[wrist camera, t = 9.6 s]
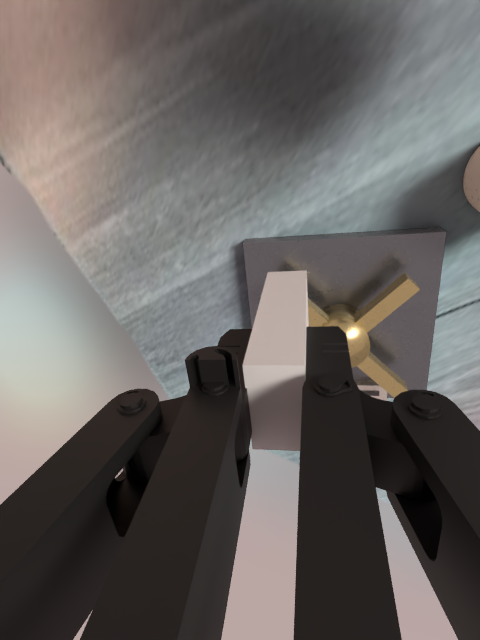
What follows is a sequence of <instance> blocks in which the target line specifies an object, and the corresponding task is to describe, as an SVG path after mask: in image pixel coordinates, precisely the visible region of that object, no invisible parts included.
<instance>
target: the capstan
mask: <svg viewBox="0 0 480 640" xmlns="http://www.w3.org/2000/svg"><path fill="white" fill-rule="evenodd" d="M419 290H420V289H419V287H418V285H417V284H416V283H415V282H414V281H413V280H412V279H411V278H410V277H409V276H408V275H407V274H406V273H405V272H404V273H403V274H402V275H401V276H400V277H399V278H397V279H396V280H395V281H394V282H393V283H392V284H390V285H389V286H388V287H387V288H386V289H384V290H383V291H382V292H381V293H380V294H379V295H377V296H376V297H375V298H374V299H373V300H372V301H370V302H369V303H368V304H367V305H366V306H365V307H363V308H362V309H361V310H360V311H358V310H357V309H356V308H354V307H352V306H349V305H345V304H336V305H332V306H329V307H327V308H325V309H324V310H321V309H320V308H319V307H318V306H317V305H316V304H314V303H313V302H312V301H311V300H310V299H309V298H308V323H309V326H310V327H320V326H339V327H340V328H341V329H342V330H343V331H344V332H345V333H346V336H347V342H348V348H349V354H350V360H351V366H352V368H353V367H355V366H357V367H358V368H359V369H361V370H362V371H363V372H364V373H365V374H367V375H368V376H369V377H370V378H371V379H372V380H374V381H375V382H376V383H377V384H378V385H379V386H381V387H382V388H383V389H384V390H385V391H387V392H388V393H389V394H390V395H391V396H392V397H394V398H395V397H396V396H397V395H399V394H400V393H401V392H405V391H408V389H407V386H406V383H405V382H404V381H403V380H402V379H401V378H400V377H399V376H398V375H396V374H395V373H394V372H393V371H392V370H391V369H389V368H388V367H387V366H386V365H385V364H384V363H383V362H381V361H380V360H379V359H378V358H377V357H376V356H374V355H373V354H372V353H371V352H370V340H369V337H368V333H367V332H369V331H370V330H371V329H372V328H374V327H375V326H376V325H377V324H378V323H380V322H381V321H382V320H383V319H385V318H386V317H387V316H388V315H390V314H391V313H392V312H393V311H394V310H396V309H397V308H398V307H399V306H401V305H402V304H403V303H404V302H406V301H407V300H408V299H409V298H411V297H412V296H413V295H414V294H415V293H417V292H418V291H419Z"/></svg>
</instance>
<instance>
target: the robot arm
mask: <svg viewBox="0 0 480 640" xmlns="http://www.w3.org/2000/svg"><path fill="white" fill-rule="evenodd" d="M185 363H186V368H187V373H188V379H189V384H190V389H189V391H188V393H187V395H185V396H183V397H179V398H175V399H170V400H165V401H160V402H159V398H158V396H157V394H156V393H155V392H154V391H151V390H148V389H134V390H129V391H126V392H124V393H122V394H119V395H118V396H116V397H115V398H114V399H112V400H111V401H110V402H109V403H108V404H107V405H105V406H104V408H102V409H101V410H100V411H99V412H98V413H97V414H96V415H95V416H94V417H93V418H92V419H91V420H90V421H89V422H88V423H87V424H85V425H84V426H83V427H82V428H81V429H80V430H79V431H78V432H77V433H76V434H75V435H74V436H73V437H72V438H71V439H70V440H69V441H67V443H65V444H64V445H63V446H62V447H61V448H60V449H59V450H58V451H57V452H56V453H55V454H54V455H53V456H52V457H51V458H49V459H48V460H47V461H46V462H45V463H44V464H43V465H42V466H41V467H40V468H39V469H38V470H37V471H36V472H35V473H34V474H33V475H31V476H30V477H29V478H28V479H27V480H26V481H25V482H24V483H23V484H22V485H21V486H20V487H19V488H18V489H17V490H16V491H15V492H14V493H12V494H11V495H10V496H9V497H8V498H7V499H6V500H5V501H4V502H3V503H2V504H1V505H0V640H73V639H74V637H75V636H76V634H77V633H78V631H79V630H80V628H81V627H82V625H83V624H84V622H85V620H86V619H87V617H88V616H89V614H90V613H91V611H92V610H93V611H92V613H91V616H90V618H89V620H88V622H87V625H86V627H85V629H84V631H83V634H82V636H81V638H80V640H221V636H222V630H223V624H224V619H225V613H226V607H227V601H228V595H229V588H230V583H231V577H232V571H233V565H234V559H235V553H236V547H237V541H238V535H239V529H240V523H241V517H242V511H243V506H244V499H245V494H246V487H247V482H248V476H249V469H250V455H249V445H250V440H252V448H253V449H265V450H292V451H300V472H299V501H298V531H297V560H296V589H295V591H296V592H295V618H294V640H401V633H400V628H399V623H398V616H397V610H396V604H395V599H394V593H393V587H392V581H391V575H390V569H389V564H388V557H387V552H386V546H385V540H384V534H383V529H382V523H381V516H380V511H379V505H378V499H377V493H376V487H377V488H380V489H383V490H386V492H387V496H388V499H389V501H390V503H391V505H392V507H393V509H394V510H395V513H396V515H397V517H398V519H399V521H400V522H401V525H402V527H403V529H404V531H405V533H406V535H407V537H408V539H409V541H410V543H411V545H412V547H413V549H414V551H415V553H416V555H417V557H418V559H419V561H420V563H421V565H422V567H423V569H424V571H425V573H426V575H427V577H428V579H429V581H430V583H431V585H432V587H433V589H434V591H435V593H436V595H437V597H438V599H439V601H440V604H441V605H442V608H443V610H444V612H445V613H446V616H447V618H448V620H449V622H450V624H451V626H452V628H453V630H454V632H455V634H456V636H457V638H458V640H480V431H479V430H478V429H477V428H476V426H475V425H474V424H473V423H472V422H471V421H470V420H469V419H468V418H467V416H466V415H465V414H464V413H463V412H462V411H461V410H460V409H459V408H458V407H457V405H456V404H455V403H453V402H452V401H451V400H450V399H448V398H447V397H445V396H443V395H441V394H438V393H436V392H432V391H427V390H408V391H405V392H401V393H400V394H399V395H397V396H396V397H395V398H394V401H393V402H389V401H385V400H381V399H377V398H374V397H371V396H369V395H367V394H365V393H364V392H362V391H361V390H360V389H359V388H358V386H357V384H356V382H355V381H354V379H353V373H352V366H351V360H350V354H349V348H348V342H347V336H346V333H345V332H344V331H343V330H342V329H341V328H340V327H339V326H320V327H309V323H308V293H307V270H304V271H282V272H268V273H267V277H266V280H265V284H264V288H263V292H262V295H261V299H260V303H259V306H258V310H257V314H256V317H255V321H254V325H253V328H252V329H230V330H229V331H228V332H226V333H225V334H224V335H223V336H222V337H221V338H220V341H219V343H218V345H217V346H213V347H205V348H202V349H199V350H196V351H195V352H193V353H191V354H190V355H189V356H188V357H187V358H186V359H185ZM122 468H123V472H122V473H121V474H120V475H119V476H118V477H117V478H115V476H116V475H117V474H118V473H119V472H120V470H121V469H122Z"/></svg>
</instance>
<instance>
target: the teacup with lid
mask: <svg viewBox="0 0 480 640" xmlns="http://www.w3.org/2000/svg"><path fill="white" fill-rule="evenodd" d="M463 187H464V192H465V195H466V198H467V200H468V201H469V203H470V204H471V205H472V206H473V207H474V208H475V209H476V210H478V211H479V212H480V146H479V147H478V148H477V150H476V151H475V152H474V154H473V155H472V156H471V158H470V160H469V162H468V164H467V166H466V169H465V173H464V178H463Z"/></svg>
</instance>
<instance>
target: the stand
mask: <svg viewBox="0 0 480 640" xmlns="http://www.w3.org/2000/svg"><path fill="white" fill-rule="evenodd" d="M445 239H446V231H445V230H444V229H443V228H441V227H435V228H418V229H402V230H386V231H369V232H353V233H336V234H320V235H304V236H287V237H271V238H254V239H245V241H244V243H243V249H244V259H245V269H246V279H247V288H248V298H249V308H250V318H251V327H252V328H253V325H254V321H255V317H256V314H257V310H258V306H259V303H260V299H261V295H262V292H263V288H264V284H265V280H266V277H267V273H268V272H282V271H304V270H307V293H308V298H309V299H310V300H311V301H312V302H313V303H314V304H316V305H317V306H318V307H319V308H320V309H321V310H324V309H325V308H327V307H329V306H332V305H336V304H345V305H349V306H352V307H354V308H356V309H357V310H358V311H360V310H361V309H362V308H363V307H365V306H366V305H367V304H368V303H369V302H370V301H372V300H373V299H374V298H375V297H376V296H377V295H379V294H380V293H381V292H382V291H383V290H384V289H386V288H387V287H388V286H389V285H390V284H392V283H393V282H394V281H395V280H396V279H397V278H399V277H400V276H401V275H402V274H403V273H404V272H405V273H406V274H407V275H408V276H409V277H410V278H411V279H412V280H413V281H414V282H415V283H416V284H417V285H418V287H419V289H420V290H419V291H418V292H417V293H415V294H414V295H413V296H412V297H411V298H409V299H408V300H407V301H406V302H404V303H403V304H402V305H401V306H399V307H398V308H397V309H396V310H394V311H393V312H392V313H391V314H390V315H388V316H387V317H386V318H385V319H383V320H382V321H381V322H380V323H378V324H377V325H376V326H375V327H374V328H372V329H371V330H370V331H369V332H367V333H368V337H369V340H370V352H371V353H372V354H373V355H374V356H376V357H377V358H378V359H379V360H380V361H381V362H383V363H384V364H385V365H386V366H387V367H388V368H389V369H391V370H392V371H393V372H394V373H395V374H396V375H398V376H399V377H400V378H401V379H402V380H403V381H404V382H405V383H406V386H407V389H408V390H427V382H428V374H429V366H430V358H431V350H432V342H433V334H434V326H435V318H436V311H437V303H438V295H439V287H440V279H441V271H442V263H443V255H444V247H445ZM309 327H310V326H309ZM352 373H353V379H354V381H355V382H356V384H357V386H358V388H359V389H360V390H361V391H362V392H364V393H365V394H367V395H369V396H371V397H374V398H377V399H381V400H385V401H387V398H394V397H392V396H391V395H390V394H389V393H388V392H387V391H385V390H384V389H383V388H382V387H381V386H379V385H378V384H377V383H376V382H375V381H374V380H372V379H371V378H370V377H369V376H368V375H367V374H365V373H364V372H363V371H362V370H361V369H359V368H358V367H357V366H355V367H353V368H352Z"/></svg>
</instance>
